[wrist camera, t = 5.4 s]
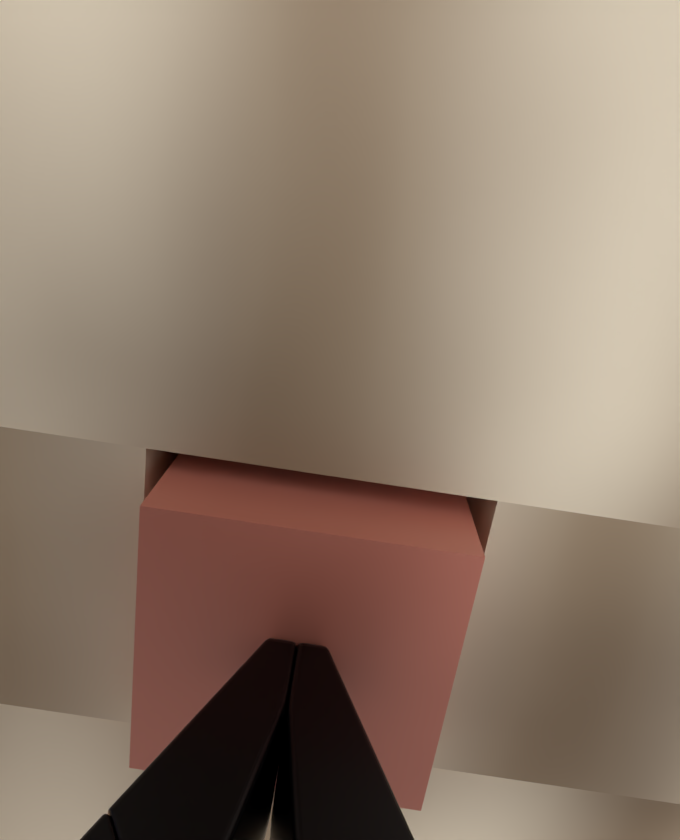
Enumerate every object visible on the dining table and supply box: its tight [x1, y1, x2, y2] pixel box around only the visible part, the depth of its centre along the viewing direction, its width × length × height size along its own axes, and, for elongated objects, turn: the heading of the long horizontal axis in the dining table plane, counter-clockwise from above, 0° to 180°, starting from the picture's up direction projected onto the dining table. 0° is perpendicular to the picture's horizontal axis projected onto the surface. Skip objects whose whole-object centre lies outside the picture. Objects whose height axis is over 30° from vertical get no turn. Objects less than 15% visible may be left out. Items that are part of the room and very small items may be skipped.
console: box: [0, 0, 680, 840], centre depth 10 cm, size 14×24×4 cm, turn 172°
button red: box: [129, 453, 485, 811], centre depth 10 cm, size 4×4×4 cm
